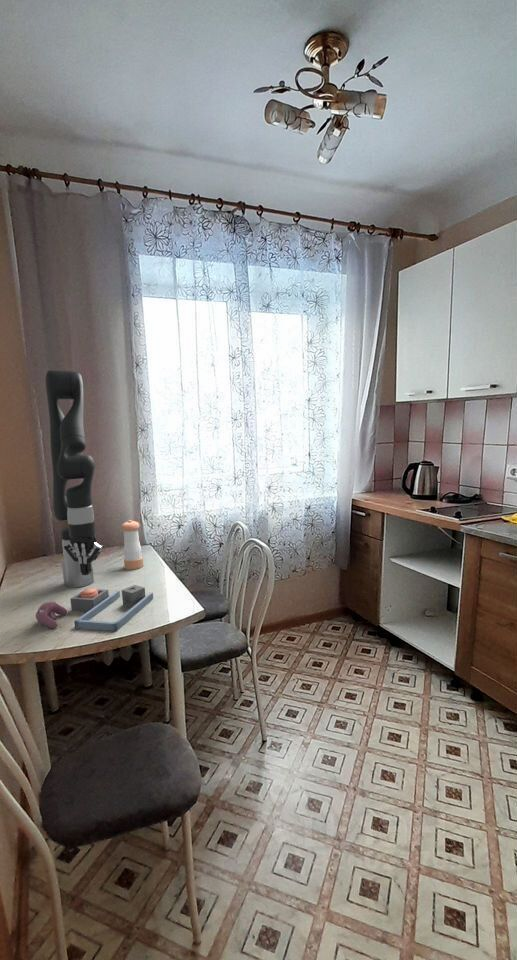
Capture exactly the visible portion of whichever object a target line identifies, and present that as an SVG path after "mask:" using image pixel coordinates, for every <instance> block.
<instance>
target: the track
mask: <svg viewBox="0 0 517 960" xmlns="http://www.w3.org/2000/svg"><path fill="white" fill-rule="evenodd" d="M120 592H121V591H120V590H117V591H115V592H113V593H112V594H111V595H110V594H109V597H108V598H106V599H105V600H103V601H102V602H101V603H99V604H98V605H96V606H95V607H94V608H92V609H91V610H89V611H88V612H84V614H82V615H81V616H80V617H78V618H77V619H75V620H74V628H75V629H85V630H86V629H87V630H88V629H89V630H98V631H99V630H102V631H113V632H115V631H116V632H117V631H118V630H119V629H120V628H121V627H124V625H125V624H126V623H128V622H129V620H131V618H133V617H134V616H136V615H137V614H138V613H139V612H140V611H141V610H142V609H143V608H145V607H146V606H147V605H148V604H149V603H150V602H152V601H153V599H154V593H153V592H149V593H148V594H147V595H145V597H144V598H143V599H142V600H141V601H139V602H138V603H137V604H136V605H135V606H133V607H132V608H131V607H130V609H128V610H127V611H126V612H125V613H123V614H122V615H121V616H120V617H119V618H118V619H117V620H115V621H103V620H92V619H93V618H94V617H95V616H97V615H98V614H100V613H101V612H102V611H104V609H106V608H107V607H109V606H110V605H111V604H113V603H114V602H116V600H118V599H119V598H120V597H121V593H120ZM146 604H147V605H146Z"/></svg>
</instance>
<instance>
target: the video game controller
mask: <svg viewBox="0 0 517 960" xmlns="http://www.w3.org/2000/svg"><path fill="white" fill-rule="evenodd" d="M67 614H68V610H67V608H66V607H64V606H62V605H60V604H58V603H57V602H56V601H53V600H50V601H47V602H44V603H42V604H41V605H40V606H39V607H38V609H37V612H36V613H35V619H36V621H37V622H38V623H40V624H42V625H43V626H45V627H47V628H49V629H56V628H57V627H58V623H57V622H58V621H56V620H55V619H56V618H57V616H56V615H60V616H66V615H67Z"/></svg>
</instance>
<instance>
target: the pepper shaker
mask: <svg viewBox="0 0 517 960" xmlns="http://www.w3.org/2000/svg"><path fill="white" fill-rule="evenodd" d="M120 527H121V531H123V537H124V538H123V539H124V544H123V545H124V546H123V554H124V555H123V556H124V559H123V564H124V565H123V566H124V569H125V570H128V571H130V570H131V571H133V570H139V569H141V568H143V567H144V557H143V556H142V547H141V543H140V538H139V529H140V527H141V525H140V523H139V522H138V521H135V520H132V519H128V521H126V522H124V523H122V524H121V526H120Z"/></svg>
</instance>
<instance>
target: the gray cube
mask: <svg viewBox="0 0 517 960" xmlns="http://www.w3.org/2000/svg"><path fill="white" fill-rule="evenodd" d="M145 596H146V588H145V587H144V586H140V585H136V584H133V585H130V586H129V587H126V588H123V589H122V590H121V599H122V605H123V606H124V607H128V608H130V609H131V608H132V607H133V606H135V605H136V604H137V603H138V602H139V601H141V600H142V599H143V598H144V597H145Z"/></svg>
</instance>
